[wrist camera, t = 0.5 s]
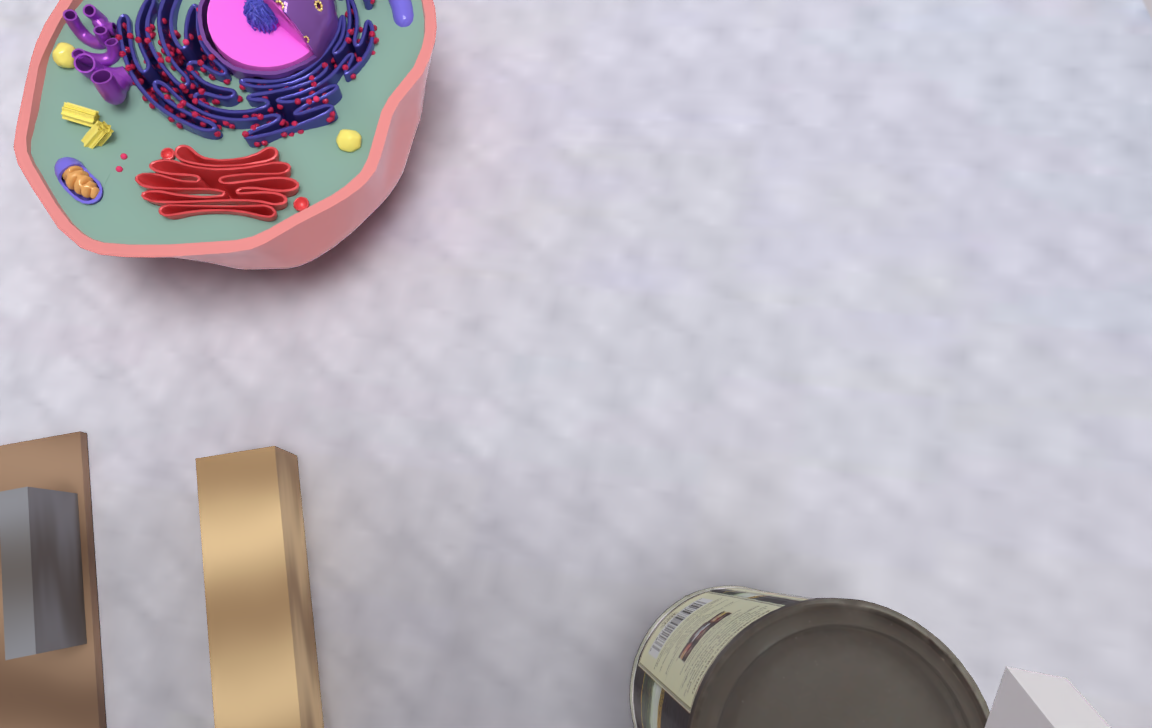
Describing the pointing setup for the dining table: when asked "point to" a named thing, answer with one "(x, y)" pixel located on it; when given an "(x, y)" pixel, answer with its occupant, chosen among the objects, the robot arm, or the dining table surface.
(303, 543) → the brass rectangular bar
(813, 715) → the coffee can
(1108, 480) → the dining table surface
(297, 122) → the cell model
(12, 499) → the cap board
